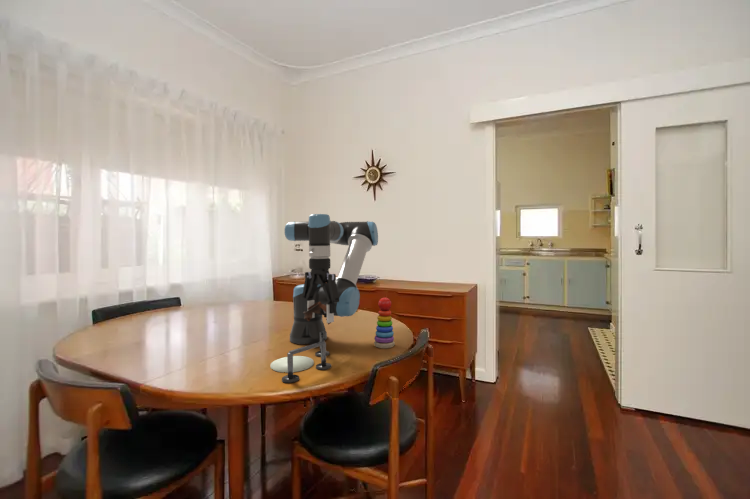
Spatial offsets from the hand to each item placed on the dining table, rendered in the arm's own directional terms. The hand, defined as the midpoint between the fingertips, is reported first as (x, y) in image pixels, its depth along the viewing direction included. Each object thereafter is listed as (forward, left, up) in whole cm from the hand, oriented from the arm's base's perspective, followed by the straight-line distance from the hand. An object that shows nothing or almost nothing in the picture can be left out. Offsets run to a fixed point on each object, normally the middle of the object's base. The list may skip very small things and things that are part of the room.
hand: (320, 320), depth 127 cm
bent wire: (+5, -10, -13) cm, 17 cm away
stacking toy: (+11, +23, -13) cm, 28 cm away
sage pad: (0, -12, -13) cm, 18 cm away
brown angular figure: (0, 0, -1) cm, 1 cm away
